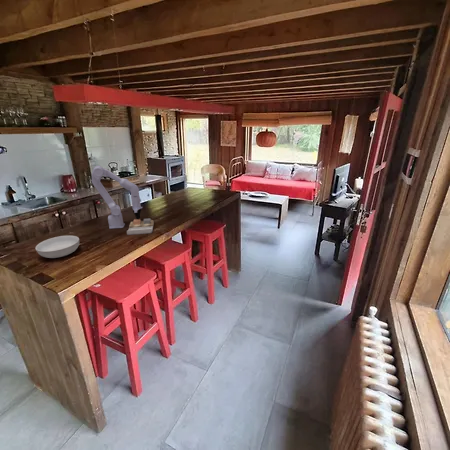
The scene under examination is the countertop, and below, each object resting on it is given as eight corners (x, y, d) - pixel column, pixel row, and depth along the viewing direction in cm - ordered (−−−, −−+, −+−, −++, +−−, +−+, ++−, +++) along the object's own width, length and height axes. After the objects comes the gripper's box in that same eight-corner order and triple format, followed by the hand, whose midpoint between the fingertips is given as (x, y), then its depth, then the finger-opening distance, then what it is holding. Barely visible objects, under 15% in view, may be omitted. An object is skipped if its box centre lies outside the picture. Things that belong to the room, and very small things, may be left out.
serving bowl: (35, 253, 144) (31, 242, 142) (75, 242, 158) (73, 232, 155) (43, 266, 130) (39, 254, 128) (86, 253, 144) (84, 242, 141)
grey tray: (127, 234, 169) (126, 230, 168) (129, 230, 177) (128, 226, 176) (152, 233, 172) (151, 228, 171) (152, 228, 180) (152, 224, 179)
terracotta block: (133, 224, 180) (133, 221, 179) (134, 222, 184) (134, 219, 183) (140, 224, 180) (139, 221, 180) (140, 222, 185) (140, 219, 184)
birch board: (129, 229, 177) (129, 226, 177) (131, 224, 187) (131, 221, 186) (153, 228, 180) (152, 224, 179) (153, 223, 190) (153, 220, 189)
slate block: (143, 224, 181) (143, 220, 180) (144, 222, 185) (144, 218, 184) (150, 223, 182) (149, 220, 181) (150, 221, 186) (150, 218, 185)
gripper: (140, 203, 178) (142, 222, 182) (142, 198, 191) (144, 215, 196) (130, 204, 176) (132, 222, 181) (132, 199, 190) (135, 216, 194)
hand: (138, 219), depth 188 cm, fingers closed
